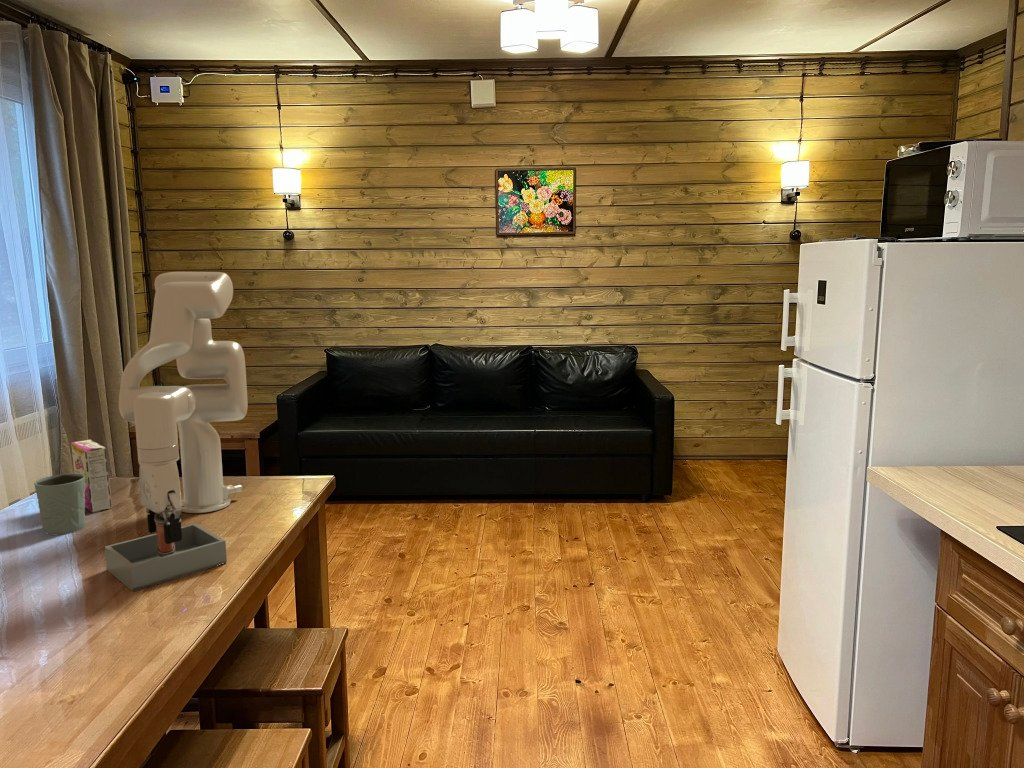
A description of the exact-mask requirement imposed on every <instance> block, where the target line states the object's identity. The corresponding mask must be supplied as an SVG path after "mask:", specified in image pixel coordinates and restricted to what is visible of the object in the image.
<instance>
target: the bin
mask: <svg viewBox="0 0 1024 768" xmlns="http://www.w3.org/2000/svg"><path fill="white" fill-rule="evenodd" d="M181 532H182V540H181V541H177V542H174V544H175V552H174V554H170V555H167V556H163V557H160V556H159V555H158V553H157V532H155V533H151V534H148V535H144V536H141V537H137V538H133V539H129V540H126V541H125V540H124V541H121V542H116V543H113V544H110V545H105V546H104V553H105V554H104V555H105V563H106V564H105V565H106V570H107V571H108V572H109V573H110V574H112V575H113V576H114V577H115V578H117V579H118V580H119V581H120V582H121V583H122V584H123V585H125V586H126V587H127V588H128V589H130V590H131V591H132V592H137V591H139V590H143V588H144V589H147V588H150V587H153V586H152V585H154V586H156V585H155V584H157V585H159V584H158V583H160V584H163V583H162V582H164V583H166V582H165V581H167V582H170V581H172V580H176V579H180V578H183V577H186V575H187V576H190V575H193V574H196V572H197V573H199V571H200V572H202V571H206V570H205V569H207V570H209V569H208V568H210V569H212V568H211V567H213V568H215V567H214V566H217V565H219V564H222V563H226V562H227V563H228V561H227V560H228V559H227V558H228V557H227V547H226V540H225V539H223V538H222V537H219V536H218V535H217V534H214V533H213V532H211V531H210V530H208V529H205V528H204V527H202V525H199V524H198V523H192V524H189V525H185V526H181ZM217 567H218V566H217ZM149 586H150V587H149ZM146 587H147V588H146ZM136 590H137V591H136Z"/></svg>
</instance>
